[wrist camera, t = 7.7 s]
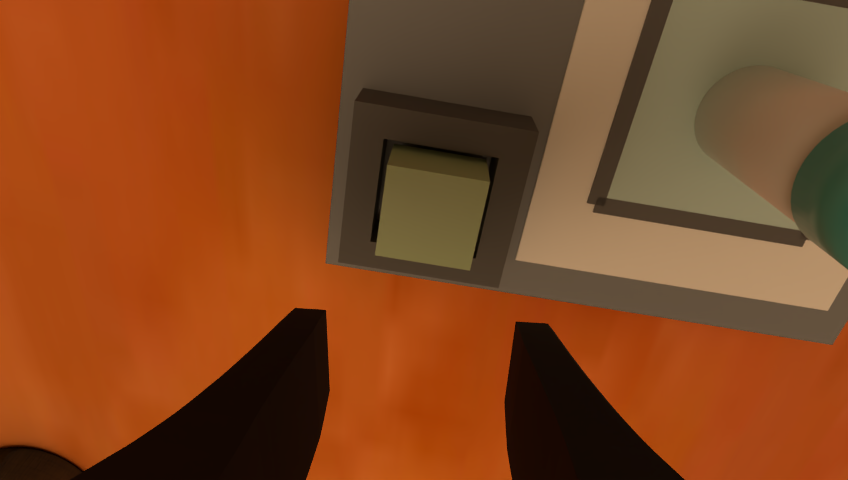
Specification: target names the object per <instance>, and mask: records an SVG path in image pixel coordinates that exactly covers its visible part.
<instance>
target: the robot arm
mask: <svg viewBox="0 0 848 480" xmlns="http://www.w3.org/2000/svg"><path fill="white" fill-rule="evenodd" d="M329 391H330V387H329V366H328V344H327V322H326V310H318V309H302V308H295V309H294V310H292V311H291V312H290V313H289V314H288V315H287V316H286V317H285V318H284V319H283V320H281V321H280V322H279V323H278V324H277V325H276V326H275V327H274V328H273V329H272V330H271V331H270V332H269V333H268V334H267V335H266V336H265V337H264V338H263V339H262V340H261V341H260V342H259V343H257V344H256V345H255V346H254V347H253V348H252V349H251V350H250V351H249V352H248V353H247V354H246V355H244V356H243V357H242V358H241V359H240V360H239V361H238V362H237V363H236V364H234V365H233V366H232V367H231V368H230V369H229V370H228V371H227V372H226V373H224V374H223V375H222V376H221V377H220V378H219V379H217V380H216V381H215V382H214V383H212V384H211V385H210V386H209V387H207V388H206V389H205V390H204V391H203V392H201V393H200V394H199V395H198V396H196V397H195V398H194V399H193V400H191V401H190V402H189V403H188V404H186V405H185V406H184V407H183V408H181V409H180V410H179V411H177V412H176V413H175V414H173V415H172V416H170V417H169V418H168V419H166V420H165V421H163V422H162V423H160V424H159V425H157V426H156V427H155V428H153V429H152V430H150V431H149V432H147V433H146V434H144V435H143V436H141V437H140V438H138V439H137V440H135V441H134V442H132V443H131V444H129V445H127V446H126V447H124V448H122V449H121V450H119V451H117V452H116V453H114V454H112V455H111V456H109V457H107V458H106V459H104V460H102V461H101V462H99V463H97V464H96V465H94V466H92V467H90V468H89V469H87V470H85V471H84V472H82V473H80V474H79V475H77V476H75V477H74V478H72V479H70V480H306V478H307V475H308V472H309V469H310V466H311V463H312V460H313V457H314V454H315V451H316V448H317V445H318V442H319V439H320V435H321V430H322V425H323V421H324V416H325V411H326V406H327V401H328V396H329ZM505 421H506V438H507V451H508V457H509V463H510V469H511V475H512V480H684V479H683V478H682V477H681V476H680V475H679V474H678V473H677V472H676V471H675V470H674V469H672V468H671V467H670V466H669V465H668V464H667V463H666V462H665V461H664V460H663V459H662V458H661V457H660V456H658V455H657V454H656V453H655V452H654V451H653V450H652V449H651V448H650V447H649V446H648V445H647V444H646V443H645V442H644V441H643V440H642V439H641V438H640V437H639V436H638V435H637V434H636V432H635V431H634V430H633V429H632V428H631V427H630V426H629V425H628V424H627V423H626V422H625V421H624V419H623V418H622V417H621V416H620V415H619V414H618V413H617V412H616V410H615V409H614V408H613V407H612V406H611V405H610V403H609V402H608V401H607V400H606V399H605V397H604V396H603V395H602V394H601V393H600V391H599V390H598V389H597V388H596V387H595V385H594V384H593V383H592V382H591V380H590V379H589V378H588V377H587V375H586V374H585V373H584V372H583V370H582V369H581V368H580V366H579V365H578V364H577V362H576V361H575V360H574V358H573V357H572V356H571V354H570V353H569V352H568V350H567V349H566V348H565V346H564V345H563V343H562V342H561V341H560V339H559V338H558V337H557V335H556V334H555V332H554V331H553V330H552V328H551V327H550V326H549V325H548V324H545V323H529V322H516V324H515V332H514V339H513V346H512V353H511V360H510V367H509V374H508V381H507V388H506V395H505Z"/></svg>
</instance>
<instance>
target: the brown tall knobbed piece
mask: <svg viewBox="0 0 848 480" xmlns="http://www.w3.org/2000/svg"><path fill="white" fill-rule="evenodd" d="M80 473H82V471H80V470H79V469H78V468H76V467H75V466H74V465H72V464H71V463H69V462H67V461H66V460H64V459H62V458H60V457H58V456H55V455H53V454H50V453H47V452H44V451H41V450H37V449H29V448H14V447H13V448H3V449H0V480H70V479H72V478H74V477H75V476H77V475H79V474H80Z"/></svg>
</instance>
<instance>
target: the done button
mask: <svg viewBox="0 0 848 480" xmlns="http://www.w3.org/2000/svg"><path fill="white" fill-rule="evenodd" d="M489 185H490V178H489V172H488V165H487V159H482V158H476V157H470V156H464V155H458V154H452V153H446V152H440V151H434V150H428V149H422V148H417V147H411V146H405V145H399V144H394V145H393V148H392V151H391V154H390V157H389V161H388V164H387V170H386V177H385V185H384V192H383V199H382V207H381V214H380V221H379V229H378V236H377V244H376V251H375V255H376V256H383V257H389V258H395V259H401V260H407V261H413V262H420V263H426V264H432V265H438V266H444V267H450V268H457V269H463V270H469V271H470V268H471V264H472V259H473V255H474V251H475V246H476V242H477V237H478V233H479V229H480V224H481V220H482V216H483V211H484V207H485V202H486V198H487V194H488V189H489Z"/></svg>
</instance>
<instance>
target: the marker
mask: <svg viewBox="0 0 848 480" xmlns="http://www.w3.org/2000/svg"><path fill="white" fill-rule="evenodd" d="M695 136H696V139H697V142H698V144H699V146H700V148H701V149H702V150H703V152H704V153H705V154H706V155H708V156H709V157H710V158H711V159H713V160H714V161H715V162H717V163H718V164H719V165H721V166H722V167H723V168H724V169H726V170H727V171H728V172H730V173H731V174H732V175H734V176H735V177H736V178H737V179H739V180H740V181H741V182H743V183H744V184H745V185H747V186H748V187H749V188H751V189H752V190H753V191H754V192H756V193H757V194H758V195H760V196H761V197H762V198H764V199H765V200H766V201H767V202H769V203H770V204H771V205H773V206H774V207H775V208H777V209H778V210H779V211H780V212H782V213H783V214H784V215H786V216H787V217H788V218H790V219H791V220H792V221H793V222H795V223H796V225H797V227H798V228H799V230H800V231H801V232H802V233H803V234H804V235H805V236H806V237H807V238H808V239H809V240H811V241H812V242H813V243H814V244H816V245H817V246H818V247H820V248H821V249H822V250H823V251H825V252H826V253H827V254H828V255H830V256H831V257H832V258H834V259H835V260H836V261H837V262H839V263H840V264H841V265H842V266H844V267H845V268H846V269H848V92H846V91H843V90H840V89H837V88H834V87H831V86H828V85H825V84H822V83H819V82H816V81H813V80H810V79H807V78H804V77H801V76H798V75H795V74H792V73H789V72H786V71H783V70H780V69H777V68H774V67H770V66H763V65H756V66H748V67H744V68H741V69H738V70H735V71H733V72H731V73H729V74H728V75H726V76H724V77H723V78H721V79H720V80H719V81H718V82H716V83H715V84H714V85H713V86H712V87H711V88H710V89H709V91H708V92H707V93H706V95H705V96H704V97H703V99H702V101H701V103H700V105H699V107H698V110H697V113H696V117H695Z"/></svg>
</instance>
